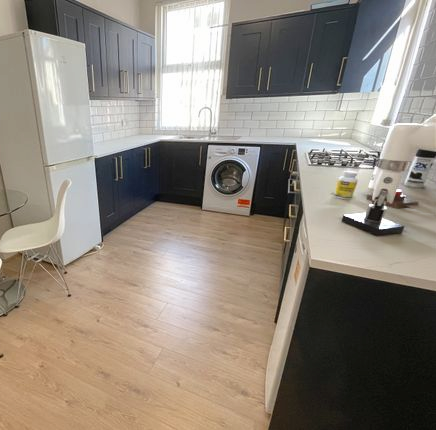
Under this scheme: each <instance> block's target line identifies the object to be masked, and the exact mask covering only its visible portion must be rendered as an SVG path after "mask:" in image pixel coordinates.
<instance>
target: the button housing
mask: <svg viewBox="0 0 436 430" xmlns="http://www.w3.org/2000/svg"><path fill="white" fill-rule="evenodd" d="M406 196H407V195H406V194H404V193H401V196H397V195H395V197H394V200H393V202H392V203H391V204H389V202H386V204H385V206H387V207H390V208H393V209H396V210H398V209H408V208H409V209H410V208H411V206H418V205H419V203H420V202H419V201H417V200H414V199H410V198H407V197H406ZM372 198H373V193H370V194H367V197H366V200H368V201H371V202H373V200H372Z"/></svg>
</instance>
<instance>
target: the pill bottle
mask: <svg viewBox="0 0 436 430" xmlns="http://www.w3.org/2000/svg"><path fill="white" fill-rule="evenodd" d="M358 173H359V172H357V171H355V170H343V173H342V176H339V177H338V180H337V182H336V186H335V190H334V192H333V196H334V198H336V199H340V200H351V199H353V196H354V193H355V191H356V188H357V185H358V181H359V179H358V178H357V176H358Z"/></svg>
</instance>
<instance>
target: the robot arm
mask: <svg viewBox="0 0 436 430" xmlns="http://www.w3.org/2000/svg"><path fill="white" fill-rule="evenodd" d="M418 149H422V150H429V151H435V152H436V113H435V114H433V115H432V116H430V117H429V118H427V119H426V120H425V121H423V122H422V123H403V122H402V123H401V122H400V123H395V124H393V125H391V126H390V127H389V130H388V133H387V135H386V137H385V141H384V143H383V147H382V149H381V152H380V155H379V158H378V161H377V164H376V165H375V167H376V169H378V170H380V172H379V175H378V178H377V181H376V184H375V188H374V189H373V193H372V194H373V198H372V200H373V201H371V202H372V203H371V204H373V206H372V207H371V209H370V211H369V214H368V217H367V219H368V220H373V221H377V222H379V221H380V220H381V217H382V215H383V212H384V207H386V205H385V204H386V202H389V204H391V203H392V202H393V200H394V197H395V194H396V192H397V189H398V190H399V186H400V184H401V181H402V178H403V174H405V173H409V170H410V168H411V165H412V163H413V160H414V158H415V155H416V153H417V151H418Z"/></svg>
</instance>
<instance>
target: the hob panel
mask: <svg viewBox="0 0 436 430" xmlns="http://www.w3.org/2000/svg"><path fill="white" fill-rule="evenodd" d="M365 215H366V212H363V213H351V214H343V215H342V217H341V220H340V221H341V222H342V223H344V224H346V225H348V226H351V227H353V228H356V229H358V230H361V231H363V232H366V233H368V234H370V235H373V236H374V237H382V236H390V235H400V234H402V233H403V231H404V229H405V226H404V225H401V224H399V223H396V222H393V221H390V220H387V219H385V218H383V219H382V222H381V223H374V222H369V221H366V220H365V219H364V218H365Z"/></svg>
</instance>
